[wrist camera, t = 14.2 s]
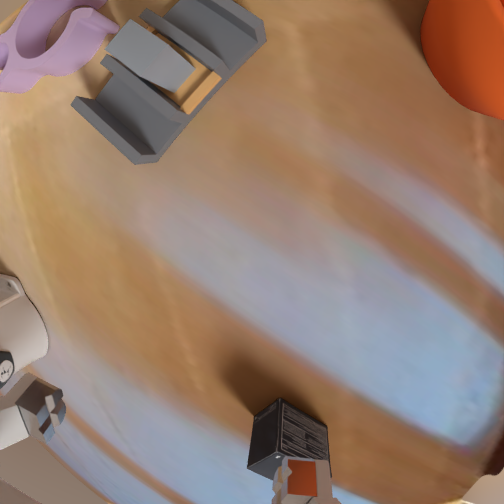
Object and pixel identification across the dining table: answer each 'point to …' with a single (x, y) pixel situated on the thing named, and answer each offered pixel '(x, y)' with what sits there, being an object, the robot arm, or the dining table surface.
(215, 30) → the rack
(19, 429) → the robot arm
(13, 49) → the clip
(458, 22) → the flowerpot
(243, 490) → the dining table surface
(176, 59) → the tall grey pillar block
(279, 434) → the small box
